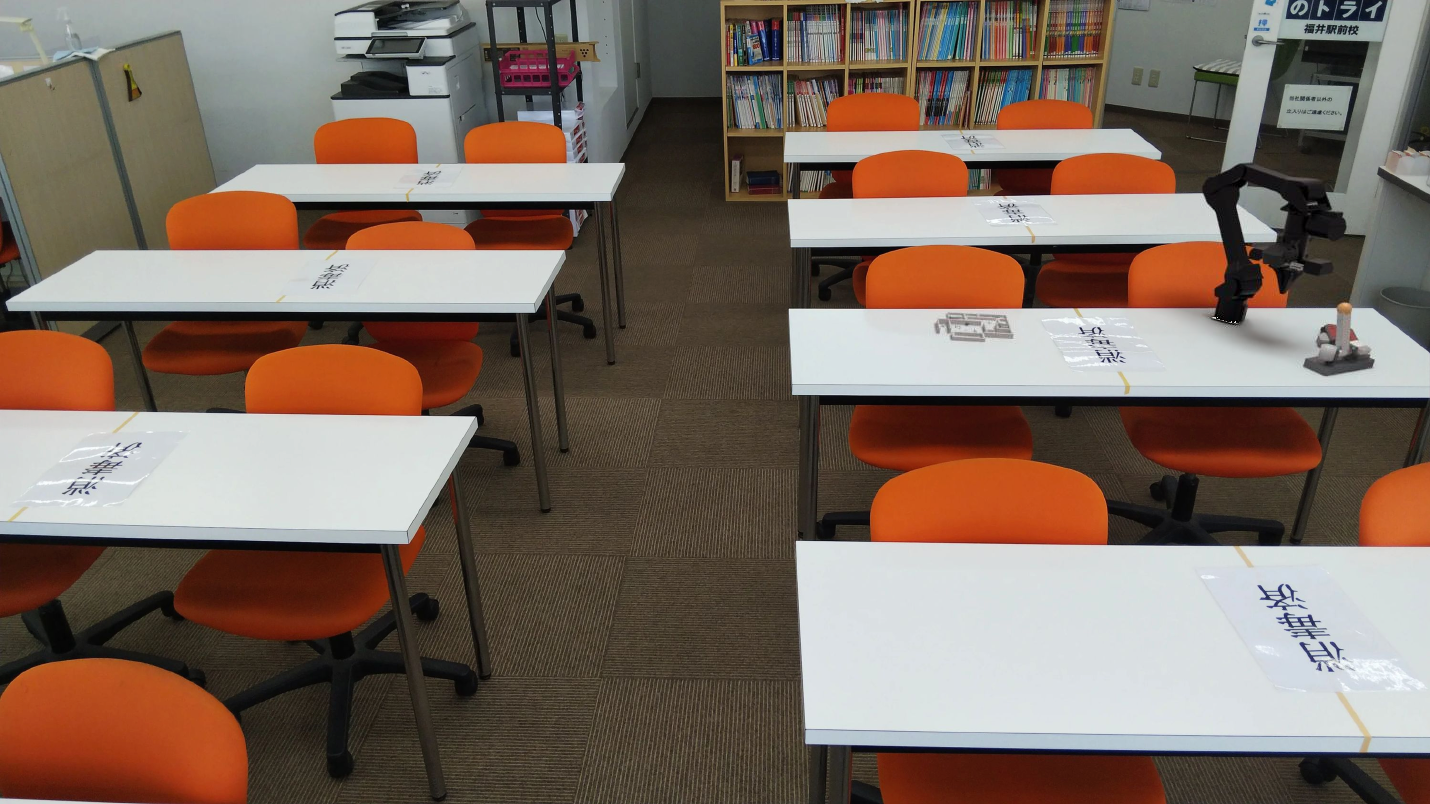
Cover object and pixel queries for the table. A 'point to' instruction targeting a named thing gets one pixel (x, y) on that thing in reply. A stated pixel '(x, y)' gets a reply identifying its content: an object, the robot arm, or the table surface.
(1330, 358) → the push button
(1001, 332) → the floor plan model
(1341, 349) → the ball-topped post
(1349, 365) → the slide switch base
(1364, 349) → the white block
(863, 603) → the table surface
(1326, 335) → the walkie-talkie
